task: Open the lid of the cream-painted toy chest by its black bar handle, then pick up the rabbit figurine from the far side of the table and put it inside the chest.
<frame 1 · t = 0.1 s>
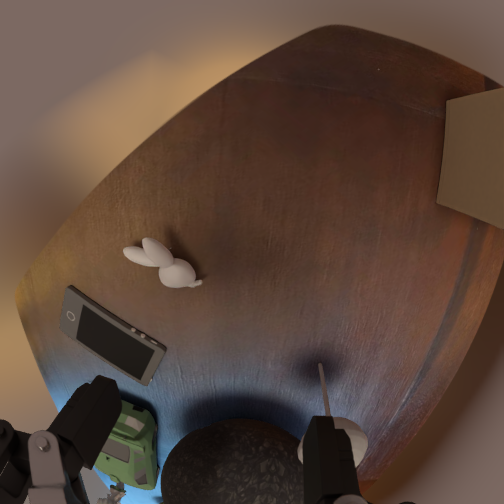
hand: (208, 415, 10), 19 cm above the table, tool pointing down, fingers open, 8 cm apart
smartphone: (109, 336, 33), on the table
toy car: (131, 437, 41), on the table
rabbit figurine: (170, 251, 28), on the table
figurine: (122, 474, 48), on the table
fruit: (175, 502, 52), on the table
lollipop: (319, 363, 31), on the table
chest: (472, 161, 22), on the table
decorative sphere: (247, 430, 36), on the table
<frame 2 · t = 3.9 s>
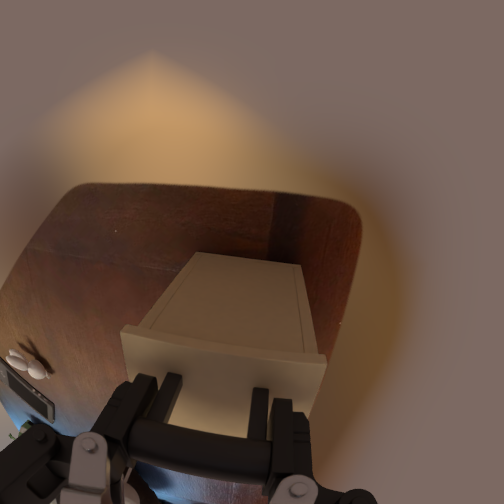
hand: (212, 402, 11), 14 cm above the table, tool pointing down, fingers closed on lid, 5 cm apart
smartphone: (25, 389, 36), on the table
toy car: (61, 452, 44), on the table
rabbit figurine: (35, 352, 32), on the table
lollipop: (144, 437, 35), on the table
chest: (241, 315, 26), on the table
decorative sphere: (123, 464, 40), on the table
lid: (208, 462, 11), point 15 cm above the table, hinge at 0.0°, touching gripper
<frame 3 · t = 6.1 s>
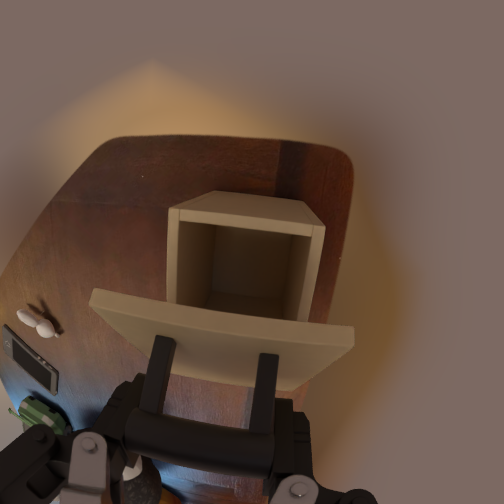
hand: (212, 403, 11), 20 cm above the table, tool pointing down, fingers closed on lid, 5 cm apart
smartphone: (29, 360, 39), on the table
toy car: (61, 434, 46), on the table
rabbit figurine: (45, 313, 35), on the table
lollipop: (149, 400, 37), on the table
chest: (252, 249, 29), on the table
decorative sphere: (125, 440, 42), on the table
lid: (216, 405, 12), point 19 cm above the table, hinge at 39.4°, touching gripper
pumpkin: (149, 488, 49), on the table
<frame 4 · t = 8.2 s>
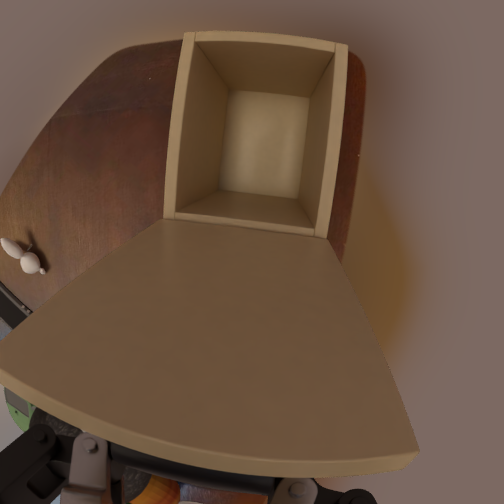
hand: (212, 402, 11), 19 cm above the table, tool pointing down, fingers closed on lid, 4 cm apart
smartphone: (14, 312, 35), on the table
toy car: (48, 405, 43), on the table
rabbit figurine: (32, 248, 31), on the table
chest: (263, 143, 25), on the table
decorative sphere: (114, 405, 39), on the table
lid: (216, 344, 10), point 19 cm above the table, hinge at 92.4°, touching gripper
pumpkin: (143, 469, 46), on the table
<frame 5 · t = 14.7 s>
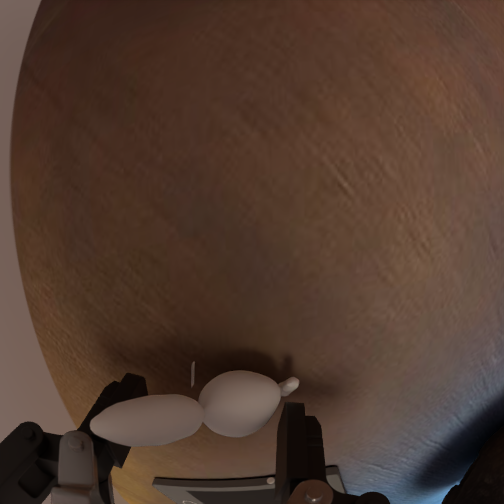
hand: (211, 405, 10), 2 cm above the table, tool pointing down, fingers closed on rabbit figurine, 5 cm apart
smartphone: (253, 495, 17), on the table
rabbit figurine: (202, 368, 12), on the table, touching gripper
decorative sphere: (499, 431, 15), on the table
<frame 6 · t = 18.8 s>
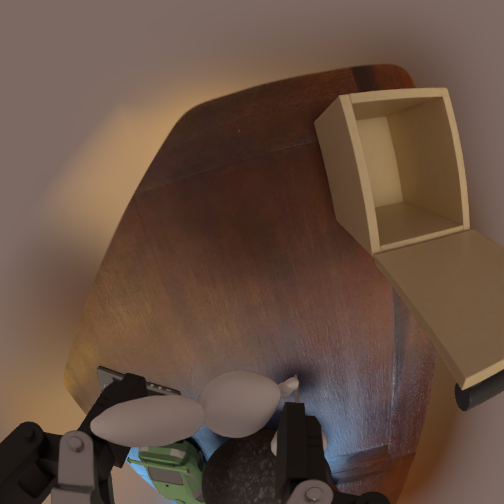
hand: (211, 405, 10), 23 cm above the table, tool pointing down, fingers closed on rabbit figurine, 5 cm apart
smartphone: (139, 394, 42), on the table
toy car: (188, 466, 48), on the table
rabbit figurine: (201, 368, 12), point 21 cm above the table, touching gripper
chest: (364, 164, 28), on the table
decorative sphere: (269, 438, 43), on the table
lid: (469, 316, 13), point 19 cm above the table, hinge at 93.3°
when the fingers open (13 cm above the table, at t = 23.2 s): rabbit figurine drops 6 cm, resting on chest.
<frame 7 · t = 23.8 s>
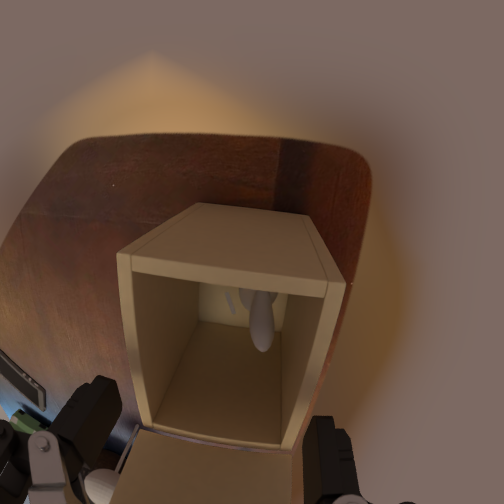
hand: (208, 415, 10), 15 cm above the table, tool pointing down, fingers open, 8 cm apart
smartphone: (16, 375, 34), on the table
toy car: (54, 445, 42), on the table
rabbit figurine: (226, 300, 19), point 5 cm above the table, touching chest
lollipop: (138, 424, 33), on the table
chest: (245, 273, 24), on the table
decorative sphere: (117, 456, 38), on the table
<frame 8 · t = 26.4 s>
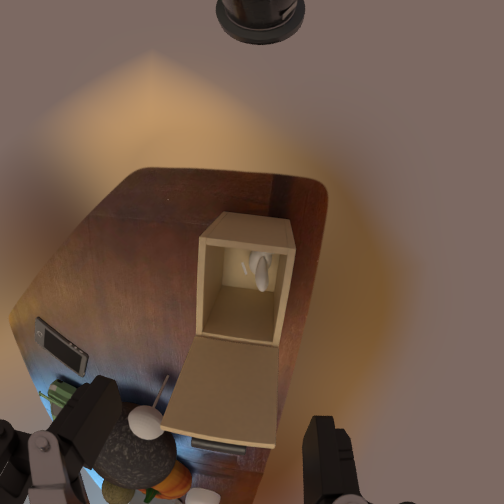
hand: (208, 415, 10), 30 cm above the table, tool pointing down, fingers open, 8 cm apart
teardrop: (204, 493, 67), on the table
smartphone: (60, 346, 50), on the table
toy car: (83, 413, 58), on the table
rabbit figurine: (241, 267, 35), point 5 cm above the table, touching chest
fruit: (124, 473, 69), on the table
lollipop: (168, 375, 48), on the table
chest: (251, 254, 40), on the table
decorative sphere: (144, 413, 54), on the table
lid: (226, 401, 24), point 19 cm above the table, hinge at 93.3°
toy vehicle: (158, 493, 72), on the table
pumpkin: (162, 461, 61), on the table
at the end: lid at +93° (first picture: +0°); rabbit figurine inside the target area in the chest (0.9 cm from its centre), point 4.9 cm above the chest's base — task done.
